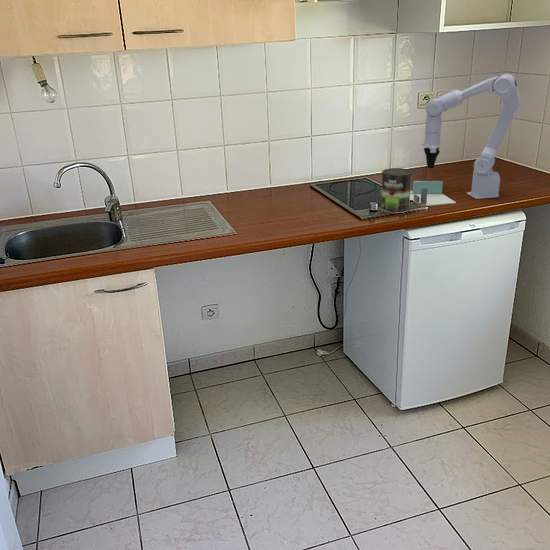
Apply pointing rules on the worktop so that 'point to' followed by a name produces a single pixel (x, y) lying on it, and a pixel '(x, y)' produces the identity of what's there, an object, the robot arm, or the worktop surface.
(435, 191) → the gate
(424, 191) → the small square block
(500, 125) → the robot arm
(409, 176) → the coffee can
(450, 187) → the worktop surface
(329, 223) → the worktop surface
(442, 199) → the base board
